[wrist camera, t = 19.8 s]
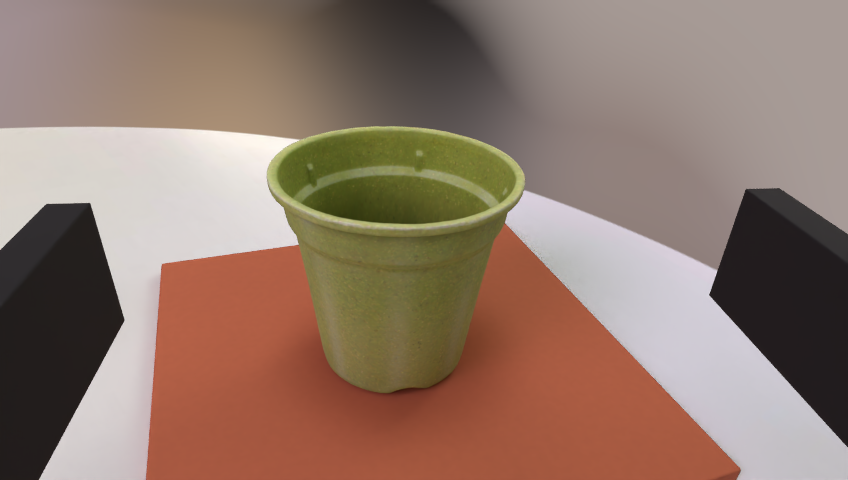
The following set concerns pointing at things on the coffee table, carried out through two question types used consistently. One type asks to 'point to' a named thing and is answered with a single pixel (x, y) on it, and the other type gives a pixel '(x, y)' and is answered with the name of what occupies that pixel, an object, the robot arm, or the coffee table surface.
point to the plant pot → (394, 244)
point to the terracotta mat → (411, 407)
